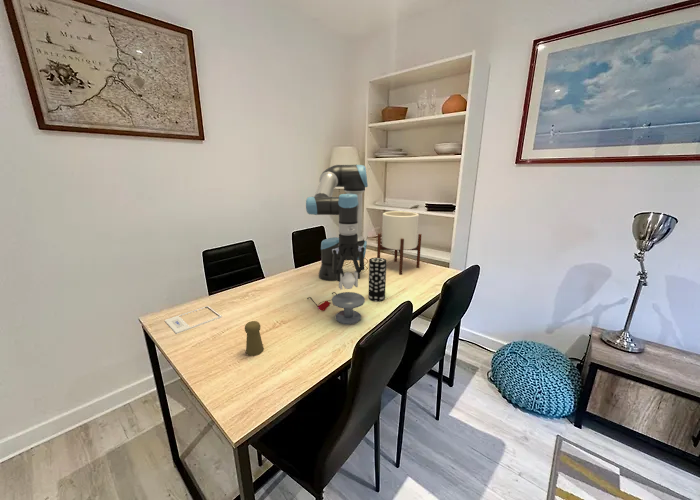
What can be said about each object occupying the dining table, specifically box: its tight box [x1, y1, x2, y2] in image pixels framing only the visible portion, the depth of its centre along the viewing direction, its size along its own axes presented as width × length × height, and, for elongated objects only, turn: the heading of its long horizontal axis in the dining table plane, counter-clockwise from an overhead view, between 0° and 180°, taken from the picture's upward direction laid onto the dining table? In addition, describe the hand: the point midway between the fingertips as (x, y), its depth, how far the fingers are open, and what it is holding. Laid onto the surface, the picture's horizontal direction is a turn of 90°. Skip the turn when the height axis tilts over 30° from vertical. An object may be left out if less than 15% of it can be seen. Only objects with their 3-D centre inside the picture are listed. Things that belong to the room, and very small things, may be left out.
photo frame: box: [164, 305, 223, 335], centre depth 122 cm, size 15×1×18 cm
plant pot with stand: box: [376, 210, 422, 276], centre depth 183 cm, size 22×22×36 cm
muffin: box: [342, 271, 356, 290], centre depth 119 cm, size 6×6×7 cm
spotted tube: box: [368, 257, 387, 303], centre depth 140 cm, size 8×8×20 cm
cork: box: [244, 320, 265, 357], centre depth 99 cm, size 6×6×11 cm
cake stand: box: [331, 291, 366, 325], centre depth 122 cm, size 14×14×9 cm
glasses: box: [306, 291, 337, 312], centre depth 137 cm, size 14×16×5 cm
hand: (348, 287), depth 119 cm, fingers closed on muffin, 6 cm apart
